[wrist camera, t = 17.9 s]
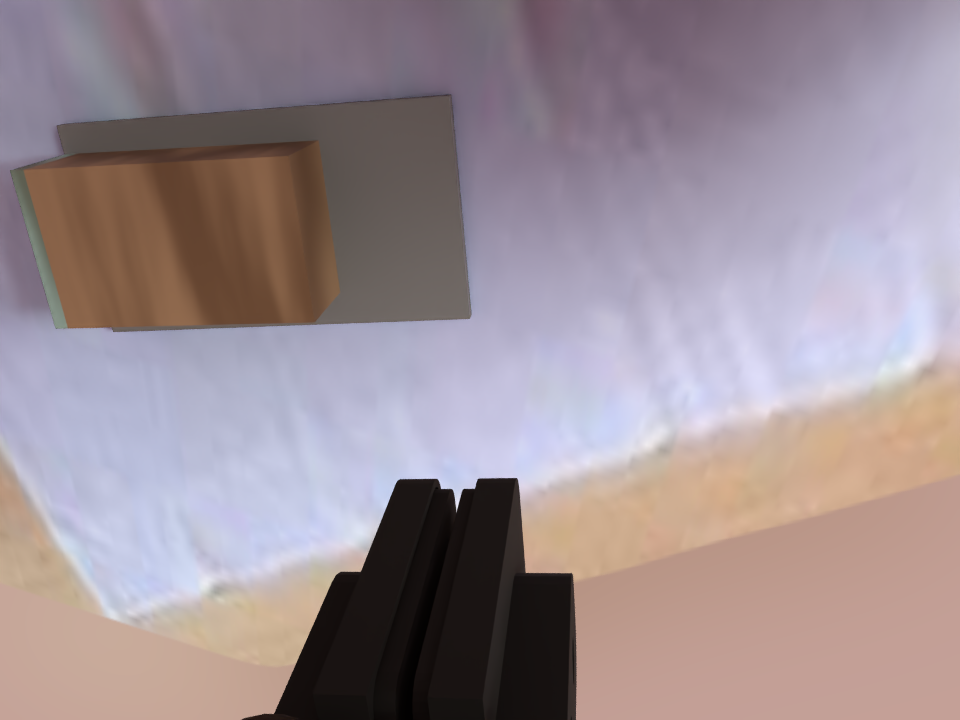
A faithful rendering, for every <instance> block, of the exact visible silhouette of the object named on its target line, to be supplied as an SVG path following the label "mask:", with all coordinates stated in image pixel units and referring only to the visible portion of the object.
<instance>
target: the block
mask: <svg viewBox="0 0 960 720" xmlns="http://www.w3.org/2000/svg"><path fill="white" fill-rule="evenodd" d="M10 172H11V176H12V179H13V183H14V186H15V190H16V193H17V196H18V200H19V203H20V207H21V210H22V214H23V217H24V221H25V224H26V228H27V231H28V235H29V238H30V242H31V245H32V248H33V252H34V255H35V259H36V262H37V266H38V269H39V273H40V276H41V280H42V283H43V287H44V290H45V294H46V297H47V301H48V304H49V307H50V311H51V314H52V318H53V321H54V325H55V328H56V329H61V328H103V327H145V326H187V325H229V324H271V323H313V322H316V320H317V319H318V318H319V317H320V316H321V314H322V313H323V312H324V311H325V310H326V309H327V307H328V306H329V305H330V304H331V303H332V301H333V300H334V299H335V298H336V297H337V296H338V294H339V293H340V287H339V280H338V273H337V266H336V259H335V252H334V245H333V238H332V231H331V224H330V217H329V210H328V203H327V196H326V189H325V182H324V175H323V167H322V160H321V153H320V146H319V140H316V141H298V142H280V143H261V144H243V145H225V146H207V147H188V148H170V149H152V150H134V151H116V152H97V153H79V154H65V155H61V156H58V157H55V158H51V159H48V160H44V161H41V162H38V163H34V164H31V165H27V166H24V167H20V168H17V169H14V170H10Z"/></svg>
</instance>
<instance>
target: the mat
mask: <svg viewBox="0 0 960 720" xmlns="http://www.w3.org/2000/svg"><path fill="white" fill-rule="evenodd" d="M57 129H58V133H59V136H60V140H61V144H62V147H63V151H64V155H65V154H79V153H97V152H116V151H134V150H152V149H170V148H188V147H207V146H225V145H243V144H261V143H280V142H298V141H316V140H319V146H320V153H321V160H322V167H323V175H324V182H325V189H326V196H327V203H328V210H329V217H330V224H331V231H332V238H333V245H334V252H335V259H336V266H337V273H338V280H339V287H340V293H339V294H338V296H337V297H336V298H335V299H334V300H333V301H332V303H331V304H330V305H329V306H328V307H327V309H326V310H325V311H324V312H323V313H322V314H321V316H320V317H319V318H318V319H317V320H316V322H313V323H271V324H229V325H187V326H145V327H112V330H113V332H128V331H155V330H182V329H209V328H236V327H263V326H290V325H317V324H344V323H371V322H397V321H424V320H451V319H470V317H471V303H470V292H469V282H468V271H467V260H466V249H465V238H464V228H463V217H462V206H461V195H460V184H459V173H458V163H457V152H456V141H455V130H454V119H453V109H452V98H451V95H438V96H425V97H412V98H399V99H386V100H373V101H359V102H346V103H333V104H320V105H307V106H294V107H281V108H268V109H254V110H241V111H228V112H215V113H202V114H189V115H176V116H163V117H149V118H136V119H123V120H110V121H97V122H84V123H71V124H62V125H58V126H57Z"/></svg>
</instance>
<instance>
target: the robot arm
mask: <svg viewBox="0 0 960 720" xmlns="http://www.w3.org/2000/svg"><path fill="white" fill-rule="evenodd" d="M242 720H576V626H575V604H574V584H573V575H572V573H526V572H525V559H524V546H523V532H522V519H521V506H520V492H519V484H518V479H517V478H486V479H478V480H477V483H476V487H475V489H463V491H462V494H461V498H460V502H459V505H458V509H457V513H456V505H455V497H454V492H453V490H452V489H441V486H440V483H439V481H438V479H400V480H398V481H397V483H396V485H395V487H394V490H393V492H392V495H391V497H390V500H389V503H388V505H387V508H386V510H385V513H384V515H383V518H382V520H381V523H380V525H379V528H378V530H377V533H376V535H375V538H374V540H373V543H372V545H371V548H370V550H369V553H368V555H367V558H366V560H365V563H364V566H363V568H362V571H361V572H340V573H338V574H337V575H336V576H335V578H334V580H333V581H332V583H331V586H330V588H329V590H328V593H327V595H326V597H325V599H324V602H323V604H322V606H321V608H320V611H319V613H318V615H317V618H316V620H315V622H314V624H313V627H312V629H311V631H310V633H309V636H308V638H307V640H306V643H305V645H304V647H303V649H302V652H301V654H300V656H299V659H298V661H297V663H296V665H295V668H294V670H293V672H292V674H291V677H290V679H289V681H288V684H287V686H286V688H285V691H284V693H283V695H282V697H281V699H280V702H279V704H278V706H277V709H276V711H275V713H274V714H262V715H258V716H253V717H248V718H244V719H242Z"/></svg>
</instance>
